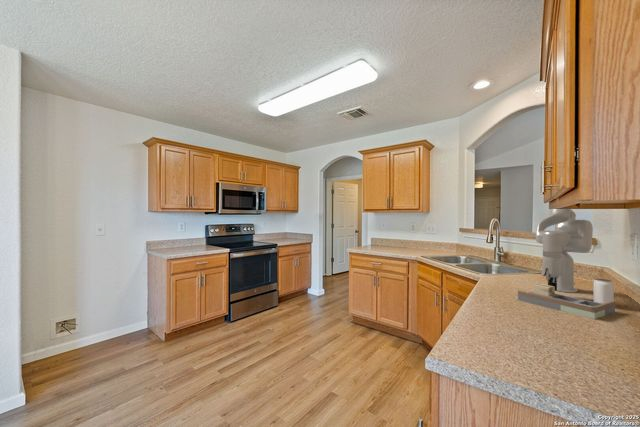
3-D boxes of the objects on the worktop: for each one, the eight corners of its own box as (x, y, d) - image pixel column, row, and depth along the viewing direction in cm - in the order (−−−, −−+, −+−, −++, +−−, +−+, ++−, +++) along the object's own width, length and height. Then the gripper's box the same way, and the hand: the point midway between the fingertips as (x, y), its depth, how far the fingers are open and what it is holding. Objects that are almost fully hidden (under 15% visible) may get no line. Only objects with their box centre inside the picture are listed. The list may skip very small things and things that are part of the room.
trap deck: (539, 295, 140) (539, 286, 141) (614, 311, 115) (614, 301, 115) (517, 299, 132) (517, 290, 132) (594, 319, 107) (594, 308, 107)
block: (540, 291, 138) (540, 283, 138) (554, 294, 133) (554, 286, 133) (534, 292, 136) (534, 285, 136) (548, 295, 130) (548, 287, 130)
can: (604, 303, 127) (604, 278, 127) (618, 307, 121) (617, 281, 121) (589, 302, 128) (589, 278, 128) (602, 307, 121) (602, 281, 122)
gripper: (550, 253, 145) (551, 286, 144) (536, 254, 138) (536, 289, 138) (568, 255, 138) (568, 290, 138) (553, 256, 132) (554, 293, 131)
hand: (552, 289), depth 138 cm, fingers closed
